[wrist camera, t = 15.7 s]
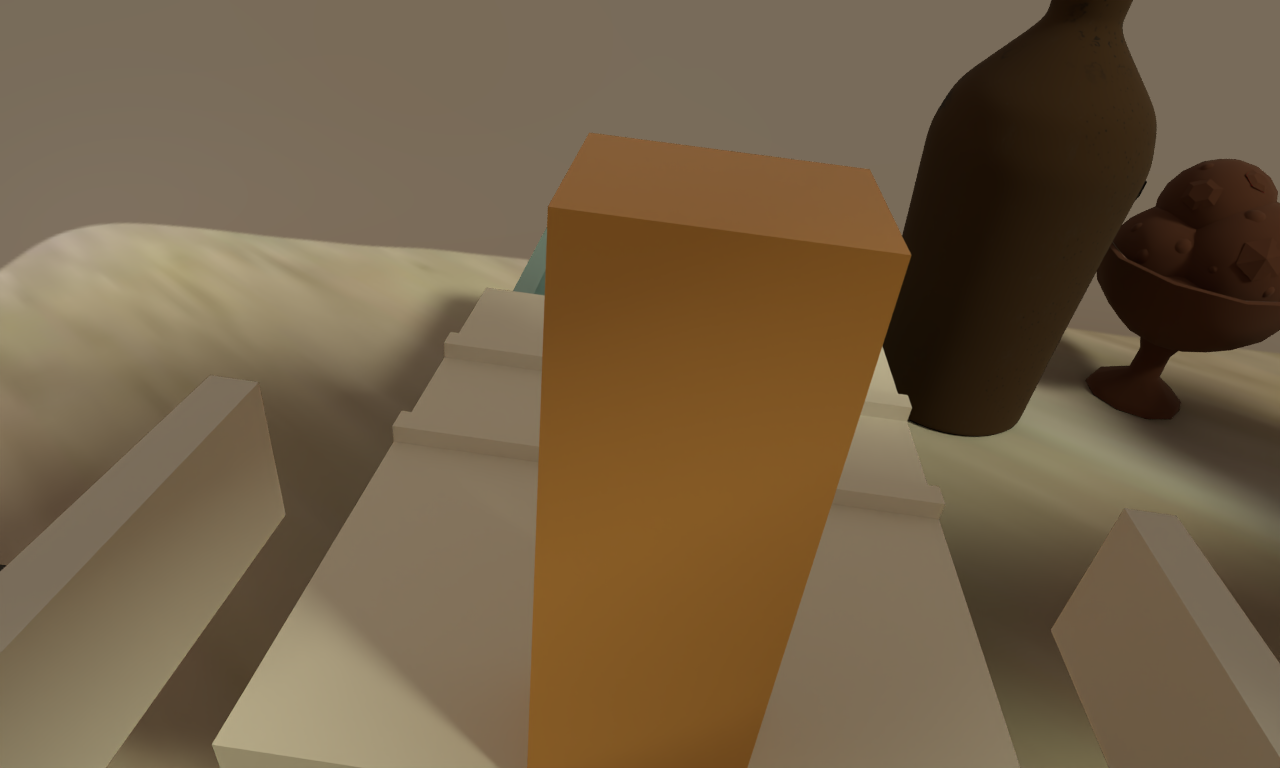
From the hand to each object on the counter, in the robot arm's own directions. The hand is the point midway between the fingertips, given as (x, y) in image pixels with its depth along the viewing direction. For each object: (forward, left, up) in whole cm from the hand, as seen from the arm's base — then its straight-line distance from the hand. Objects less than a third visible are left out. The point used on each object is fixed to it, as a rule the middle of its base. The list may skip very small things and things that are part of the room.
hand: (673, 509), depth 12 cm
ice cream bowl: (-30, -36, -17) cm, 50 cm away
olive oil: (-17, -33, -17) cm, 41 cm away
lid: (0, -9, -8) cm, 13 cm away
